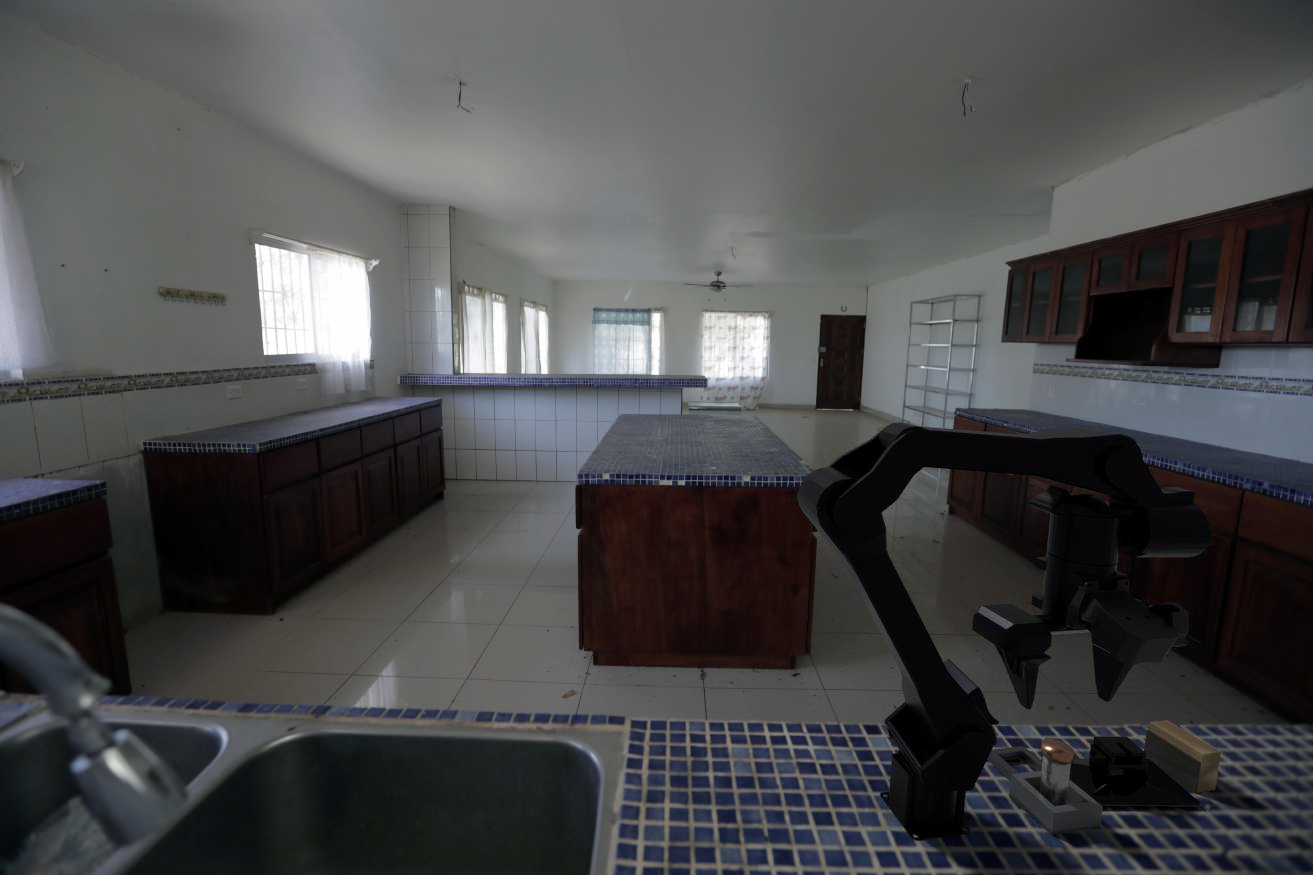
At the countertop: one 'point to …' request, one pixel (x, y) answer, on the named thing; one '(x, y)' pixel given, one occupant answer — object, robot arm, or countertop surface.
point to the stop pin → (1056, 771)
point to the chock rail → (1182, 756)
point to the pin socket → (1013, 753)
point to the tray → (1055, 818)
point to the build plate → (1126, 776)
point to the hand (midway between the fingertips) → (1065, 703)
